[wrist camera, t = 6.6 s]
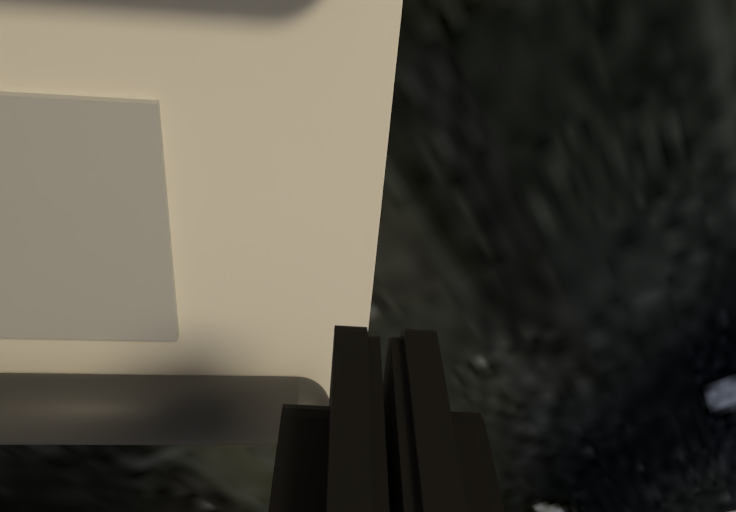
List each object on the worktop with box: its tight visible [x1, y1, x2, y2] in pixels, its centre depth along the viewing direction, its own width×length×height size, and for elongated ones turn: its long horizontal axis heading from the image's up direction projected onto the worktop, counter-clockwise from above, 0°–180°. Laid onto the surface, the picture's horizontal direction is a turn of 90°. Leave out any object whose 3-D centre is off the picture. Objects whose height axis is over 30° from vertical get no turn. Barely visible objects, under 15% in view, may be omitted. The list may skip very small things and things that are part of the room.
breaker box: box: [0, 0, 403, 445], centre depth 17 cm, size 20×16×7 cm
